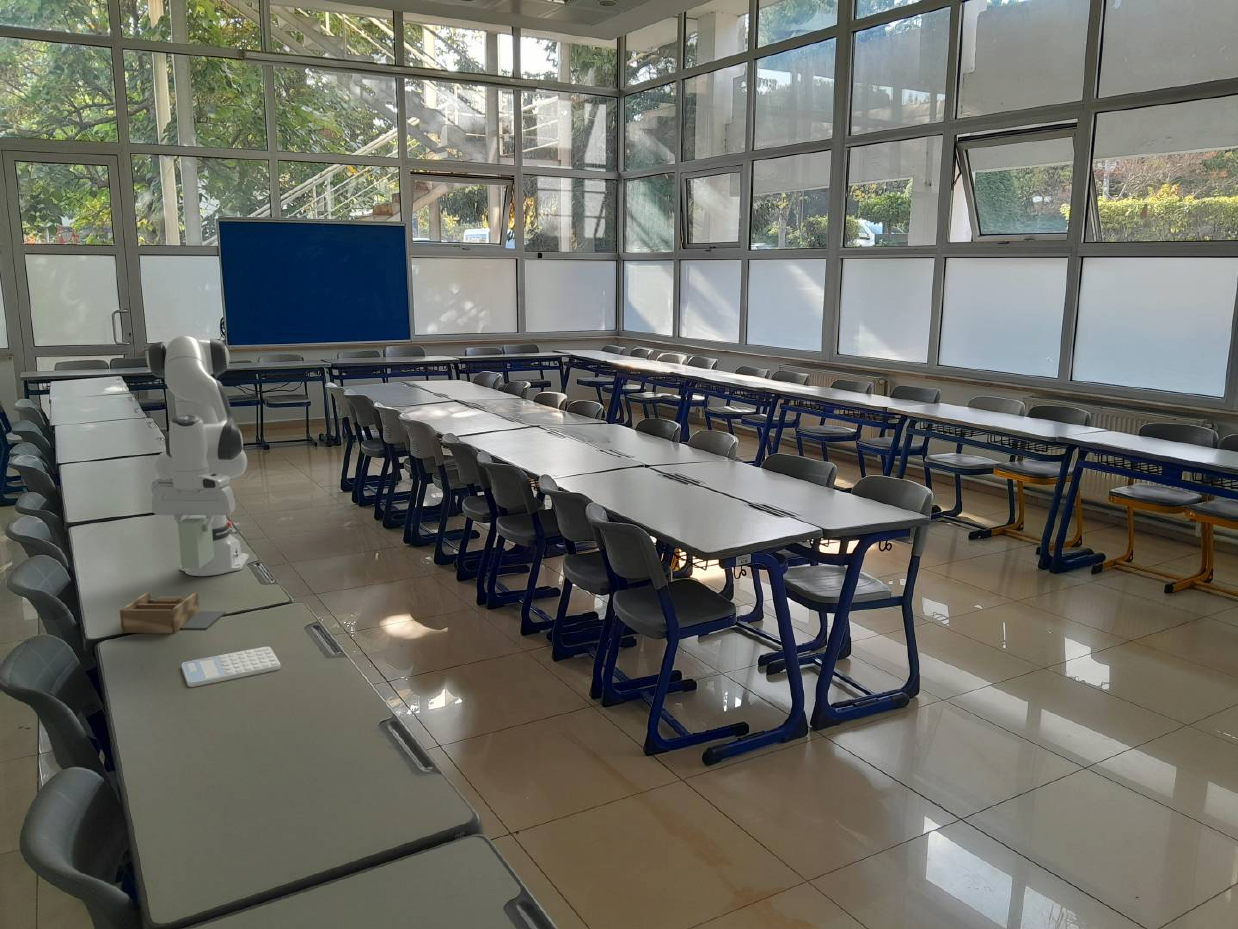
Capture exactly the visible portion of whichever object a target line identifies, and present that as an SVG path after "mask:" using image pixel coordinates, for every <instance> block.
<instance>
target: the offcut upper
mask: <svg viewBox="0 0 1238 929" xmlns="http://www.w3.org/2000/svg"><path fill="white" fill-rule="evenodd" d="M182 600H183V597H182V596H158V597H157V598H155V600H154V601H153V604H180V603H181V602H182Z"/></svg>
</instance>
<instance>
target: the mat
mask: <svg viewBox="0 0 1238 929" xmlns="http://www.w3.org/2000/svg"><path fill="white" fill-rule="evenodd" d="M225 614H226V610H221V611H219V610H199V612H198V613H197V614H196V615H195V616H193V617H192V618H191V619H190V620H188V621H187V622H186V623H185V624H183V625H182V626H181V627H180V630H205V631H206V630H208V629H209V628H210V627H211V626H212V625H214V624H215V623H216V622H217V621H218V620H219V619H220V618H222V617H223V616H224V615H225Z"/></svg>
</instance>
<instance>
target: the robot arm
mask: <svg viewBox="0 0 1238 929" xmlns="http://www.w3.org/2000/svg"><path fill="white" fill-rule="evenodd" d="M145 360H146V363H147V364H146V365H147V366H148V369H149V371H150V372H151V374H152V375H153V376H155V377H156V378H161V379H162V378H163V379H165V384H166V387H167V389H168V390H169V391H170V392H171V393H172V394H173V395H174V403H175V404H174V405H175V412H176V413H175V414H176V416H175V417H173V418H172V419H171V420H170V421H169V429H168V431H167V432H166V433H165V434H164V443H165V451H163V452H160V453H159V455H158V456H157V457H156V460H155V464H154V471H155V474H156V476H157V479H155V480H154V481H152V483H151V485H150V488H151V493H152V496H151V512H153V514H154V515H157V516H160V515H161V516H173V520H174V521H175V522H176V524H178V523H179V522H181V521H182V520H183V517H184V516H185V517H186V518H188V517H190V516H191V515H206V519H208V521H207V523H206V524H204V525H202V528H203V532H209V531H211V524H212V536H213V549H214V558H213V559H212V560H211V561H209V562H208V563H206V564H205V565H203V566H202V567H200V568H182V566H181V565H179V570H180V571H182V572H184V573H185V574H187V575H188V576H193V577H194V576H197V577H209V576H216V575H217V576H218V575H222V574H225V573H230V572H236V571H241V570H242V569H243V567H244V566H245V564H246V562H247V561H248V560H249V558H250V556H249V555H250V554H249V553H245V552H242V550H241V542H240V541H239V540H238V539H237V538H235V537H234V536H233V535H231V530H230V528H231V529H232V527H233V523H232V521H227V516H230V515H231V514H233V512H235V509H236V503H235V502H236V501H235V496H234V491H233V489H232V487H231V486H230V485H228V484H229V483H230V480H231V479H235V478H237V477H241V476H242V475H243V474H244V472H246V470H247V467H248V458H247V457H248V456H247V455H246V452H245V451H244V449H243V446H244V439H243V435H242V432H241V430H240V428H239V426H238V424H237V421H236V419H235V416H234V412H233V409H232V407H231V404H230V401H229V398H228V395H227V392H226V390H225V387H224V385H223V383H222V382H221V381H220V380H218V377H219V376H220V375H222V374H224V373H225V372H226V371H227V370H228V367H229V364H230V360H231V357H230V352H229V350H228V348H227V346H226V344H225V343H224V341H223V340H220V339H216V338H210V339H202V338H195V337H193V336H189V335H180V336H177V337H175V338H173V339H171V340H170V341H166V342H163V341H158V342H154V343H152V344H151V345H150V346H149V347H148V350H147V353H146V359H145ZM213 375H214V377H213ZM186 518H185V519H186Z"/></svg>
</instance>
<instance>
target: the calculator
mask: <svg viewBox="0 0 1238 929" xmlns="http://www.w3.org/2000/svg"><path fill="white" fill-rule="evenodd" d="M180 665H181V667H180V668H181V669H182V670H181V671H182V674H183V676H184V679H185V682H186V685H187V686H188V687H190V688H193V687H199V686H204V685H209V684H215V683H219V682H224V681H225V682H226V681H229V680H234V679H239V678H244V677H248V676H249V677H250V676H253V675H259V674H264V673H269V672H274V671H278V670H280V669H281V667H282V666H281V662H280V661H279V659H278V658H277V656H276V654H275V653H274V650H273V649H272V648H271V647H270V646H262V647H257V648H250V649H246V650H240V651H236V652H230V653H226V654H225V653H224V654H219V655H215V656H209V657H205V658H204V657H203V658H198V659H197V658H196V659H193V660H188V661H184V662H182V663H181V664H180Z"/></svg>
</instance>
